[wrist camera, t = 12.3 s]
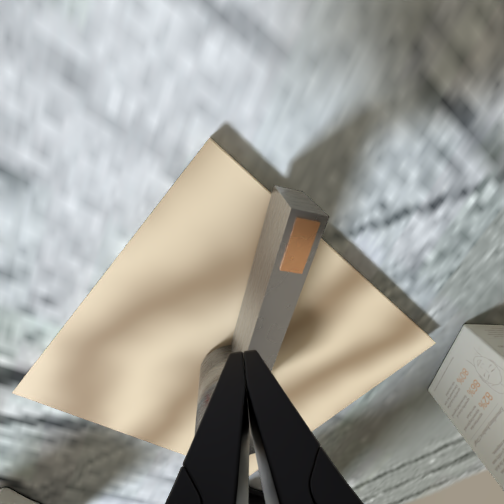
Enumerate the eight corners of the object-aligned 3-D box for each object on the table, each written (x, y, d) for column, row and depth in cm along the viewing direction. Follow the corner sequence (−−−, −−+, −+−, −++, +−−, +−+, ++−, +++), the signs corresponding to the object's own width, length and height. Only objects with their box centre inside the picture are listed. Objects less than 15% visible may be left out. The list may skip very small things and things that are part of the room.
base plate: (427, 333, 22) (436, 344, 21) (246, 466, 28) (247, 478, 27) (210, 137, 14) (209, 138, 13) (21, 380, 20) (11, 394, 19)
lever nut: (252, 415, 22) (258, 479, 19) (190, 412, 22) (183, 478, 18) (332, 198, 15) (371, 227, 11) (241, 177, 14) (249, 202, 10)
